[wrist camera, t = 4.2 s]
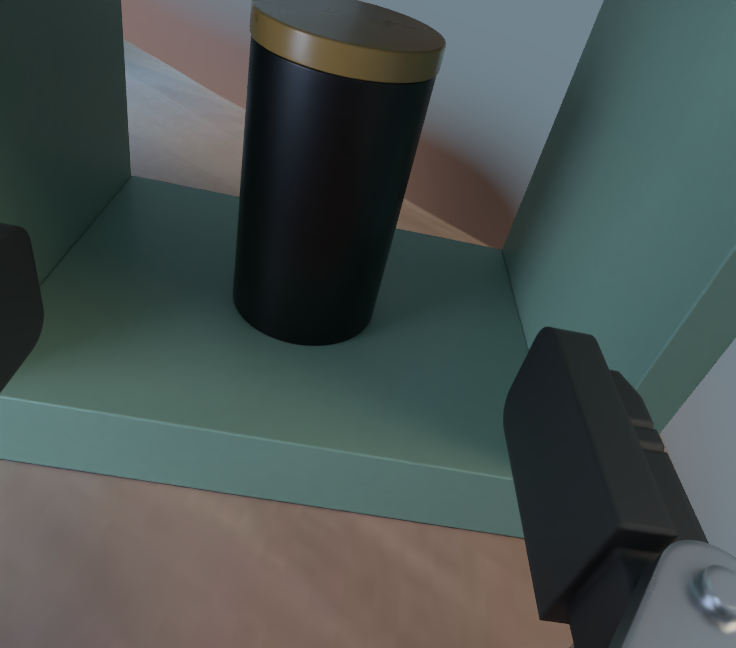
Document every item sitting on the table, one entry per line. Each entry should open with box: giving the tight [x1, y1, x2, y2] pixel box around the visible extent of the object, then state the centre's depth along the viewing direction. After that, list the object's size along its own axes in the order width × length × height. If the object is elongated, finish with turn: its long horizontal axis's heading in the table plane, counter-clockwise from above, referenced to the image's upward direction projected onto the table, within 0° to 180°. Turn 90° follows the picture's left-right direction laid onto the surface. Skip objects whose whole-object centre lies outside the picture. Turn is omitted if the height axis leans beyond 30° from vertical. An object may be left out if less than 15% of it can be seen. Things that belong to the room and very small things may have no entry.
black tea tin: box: [233, 0, 446, 346], centre depth 19 cm, size 6×6×10 cm
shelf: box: [0, 0, 736, 538], centre depth 18 cm, size 21×14×21 cm, turn 88°
